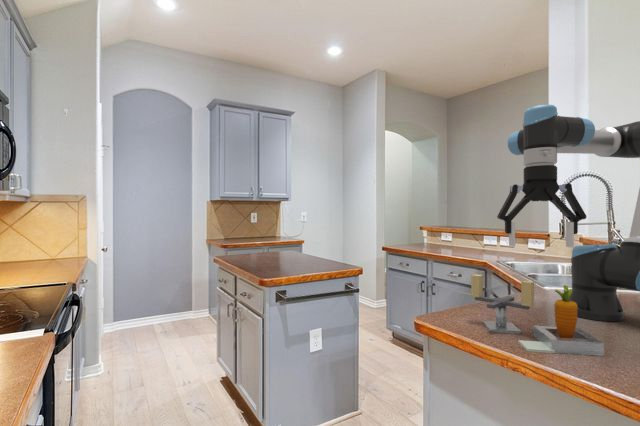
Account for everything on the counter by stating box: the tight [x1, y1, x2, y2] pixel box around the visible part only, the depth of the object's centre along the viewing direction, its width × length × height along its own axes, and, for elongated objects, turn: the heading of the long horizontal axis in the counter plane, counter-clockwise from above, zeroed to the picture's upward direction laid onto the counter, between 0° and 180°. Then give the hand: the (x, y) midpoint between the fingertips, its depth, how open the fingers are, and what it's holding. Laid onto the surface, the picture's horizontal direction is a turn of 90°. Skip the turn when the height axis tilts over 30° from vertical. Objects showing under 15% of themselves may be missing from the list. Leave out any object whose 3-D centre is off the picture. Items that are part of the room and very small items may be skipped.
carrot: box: [554, 284, 578, 338], centre depth 89 cm, size 5×5×15 cm
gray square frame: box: [532, 325, 605, 357], centre depth 89 cm, size 11×11×3 cm
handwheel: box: [470, 273, 535, 310], centre depth 102 cm, size 16×14×8 cm
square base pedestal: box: [482, 306, 522, 335], centre depth 102 cm, size 8×8×7 cm
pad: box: [517, 339, 556, 354], centre depth 87 cm, size 6×6×1 cm
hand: (540, 246), depth 93 cm, fingers open, 13 cm apart
